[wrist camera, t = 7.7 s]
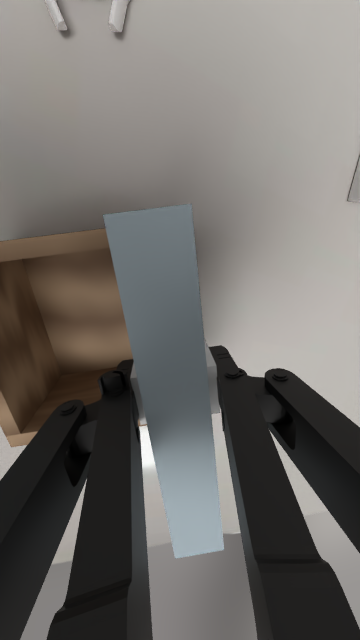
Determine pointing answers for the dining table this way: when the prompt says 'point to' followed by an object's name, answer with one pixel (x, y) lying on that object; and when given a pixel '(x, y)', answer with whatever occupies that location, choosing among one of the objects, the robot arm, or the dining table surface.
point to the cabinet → (56, 326)
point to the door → (170, 365)
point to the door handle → (115, 17)
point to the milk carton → (355, 186)
